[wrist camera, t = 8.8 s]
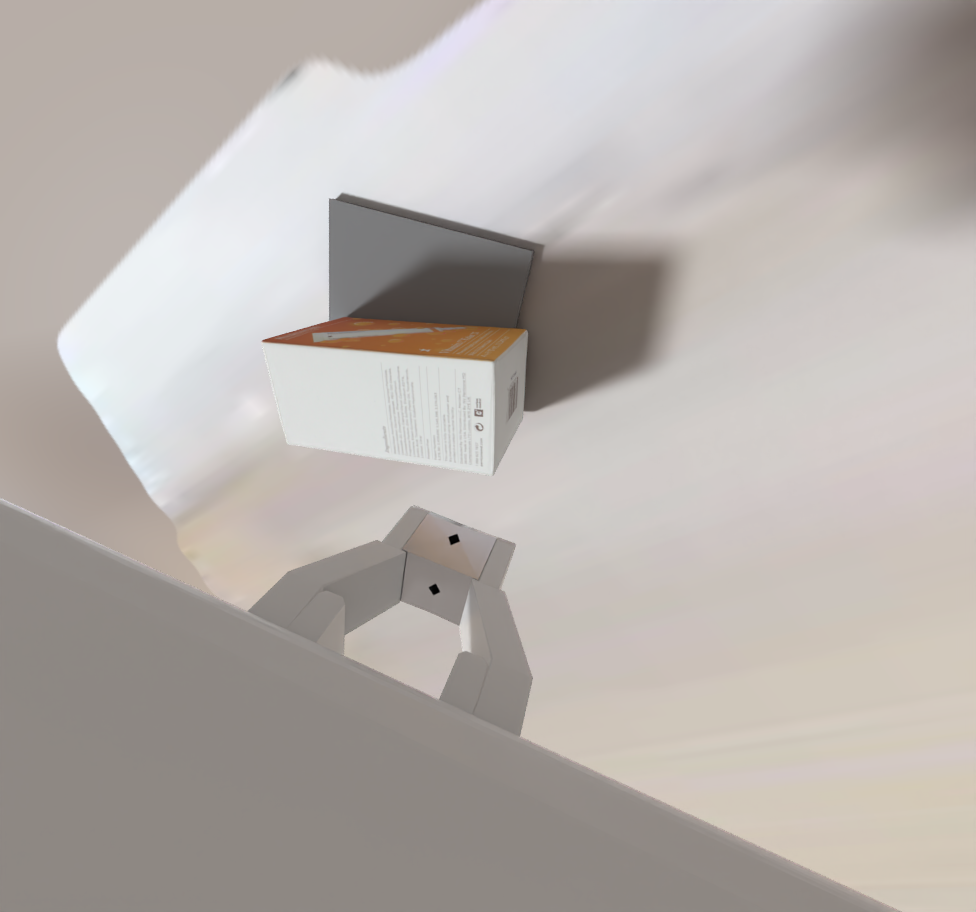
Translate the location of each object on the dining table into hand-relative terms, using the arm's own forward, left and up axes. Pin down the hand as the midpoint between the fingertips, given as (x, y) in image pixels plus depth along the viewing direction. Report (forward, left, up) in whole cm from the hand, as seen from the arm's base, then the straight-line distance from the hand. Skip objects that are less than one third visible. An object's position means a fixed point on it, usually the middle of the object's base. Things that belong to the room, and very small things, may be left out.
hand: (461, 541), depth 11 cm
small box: (+1, +1, -13) cm, 13 cm away
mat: (+9, 0, -18) cm, 20 cm away
